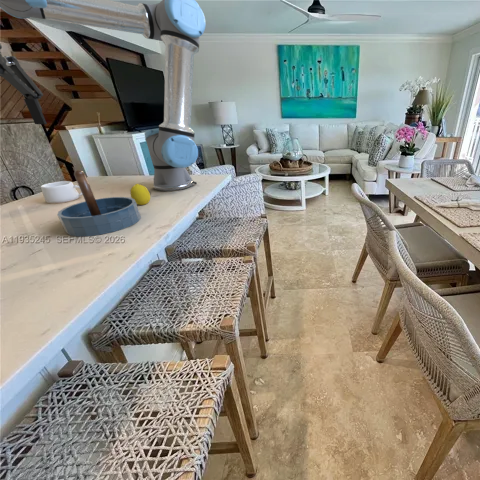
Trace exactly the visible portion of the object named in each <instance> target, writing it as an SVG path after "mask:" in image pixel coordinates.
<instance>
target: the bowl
mask: <svg viewBox="0 0 480 480" xmlns="http://www.w3.org/2000/svg"><path fill="white" fill-rule="evenodd" d="M95 200H96V202H97V205H98V207H99V210H100V212H101V214H100V215H95V216H92V215H91V213H90V211H89V208H88V206H87V204H86V201H85V200H84V201H81V202H77V203H73V204H71V205H69V206H66V207H64V208H62V209H60V210H59V211H58V212H57V214H56V215H57V217H58V219H59V222H60V223H61V225H62V228H63V229H64V232H65V233H66V234H67V235H69V236H73V237H94V236H101V235H106V234H110V233H115V232H118V231H121V230H124V229H126V228H129V227H132V226H133V225H135V224H137V223H138V222H140V220H141V218H142V217H141V213H140V210H139V207H138V204H137V203H136V201H135V199H132V198H131V197H127V196H111V197H109V196H108V197H102V198H101V197H100V198H95Z"/></svg>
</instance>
